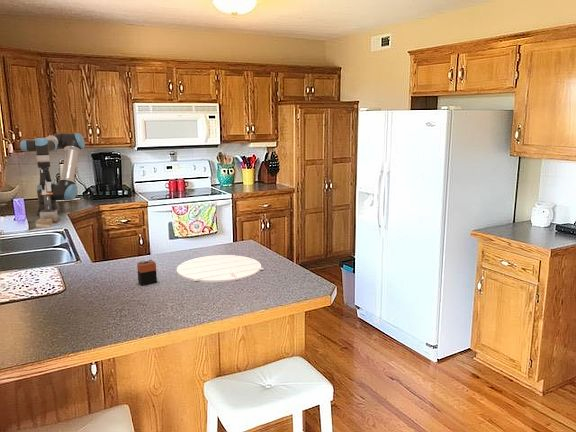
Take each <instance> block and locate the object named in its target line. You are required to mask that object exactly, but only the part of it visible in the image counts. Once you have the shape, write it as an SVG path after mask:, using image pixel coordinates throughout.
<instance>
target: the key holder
mask: <svg viewBox="0 0 576 432" xmlns="http://www.w3.org/2000/svg"><path fill="white" fill-rule="evenodd" d="M52 224H53V223H52V219H40V218H38V219H37V220H36V221H35V228H36V229H37V228H50V227H51V226H53V225H52Z"/></svg>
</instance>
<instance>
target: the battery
mask: <svg viewBox="0 0 576 432" xmlns="http://www.w3.org/2000/svg"><path fill="white" fill-rule="evenodd" d="M157 275H158V273H157V263H156V261H154V260H153V259H148V260H147V261H146V260H139V262H137V280H138V281H137V282H138V284H139V285H140V286H142V287H143V286H148V285H152V284H156V283H158V279H157V278H158V276H157Z"/></svg>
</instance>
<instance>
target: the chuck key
mask: <svg viewBox="0 0 576 432" xmlns="http://www.w3.org/2000/svg"><path fill="white" fill-rule="evenodd" d="M41 195H42V193H41ZM50 195H53V193H52V192H51V193H47V195H44V205H45V211H46V212H48V211H52V208H51V198H50Z"/></svg>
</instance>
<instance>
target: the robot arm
mask: <svg viewBox="0 0 576 432" xmlns="http://www.w3.org/2000/svg"><path fill="white" fill-rule="evenodd" d="M85 143H86V142H85V138H84V136H83V135H82V134H81V133H77V132H73V133H70V132H69V133H67V132H65V133H64V132H62V133H54V134H50V135H48V136H46V137H37V138H35V139H29V140H28V139H22V140H21V141H20V143H19V148H20V150H21V151H23V152H36V156H35V158H36V161H37V168H39V184H37V186H36V192H37V193H36V194H37V202H38V204H37V205H38V206H37V208H36V209H37V210H36V216H38V217H40V212H41V211H42V210H45V205H44V195H47V193H51V192H52V193H53V195H50V198H51V208H52V210H57V214H58V215H60V213H61V212H60V208H59V207H58V204H57V201H73V200H75V199H76V198H77V195H78V185H76V182H75V181H74V180H75V174H76V170H77V169H76V168H77V163H78V157H79V154H80V153H81V151H82V150H83V149H85V146H86V144H85ZM57 149H64V151H65V154H64V160H63V165H62V171H61V177H60V179H59V180H58V181H57V184H56V183H55V182H54V181H53V180H52V177H51V174H50V169H49V168H50V167H51V162H50V160H51V159H50V152H53V151H56V150H57ZM41 193H42V195H41Z"/></svg>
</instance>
